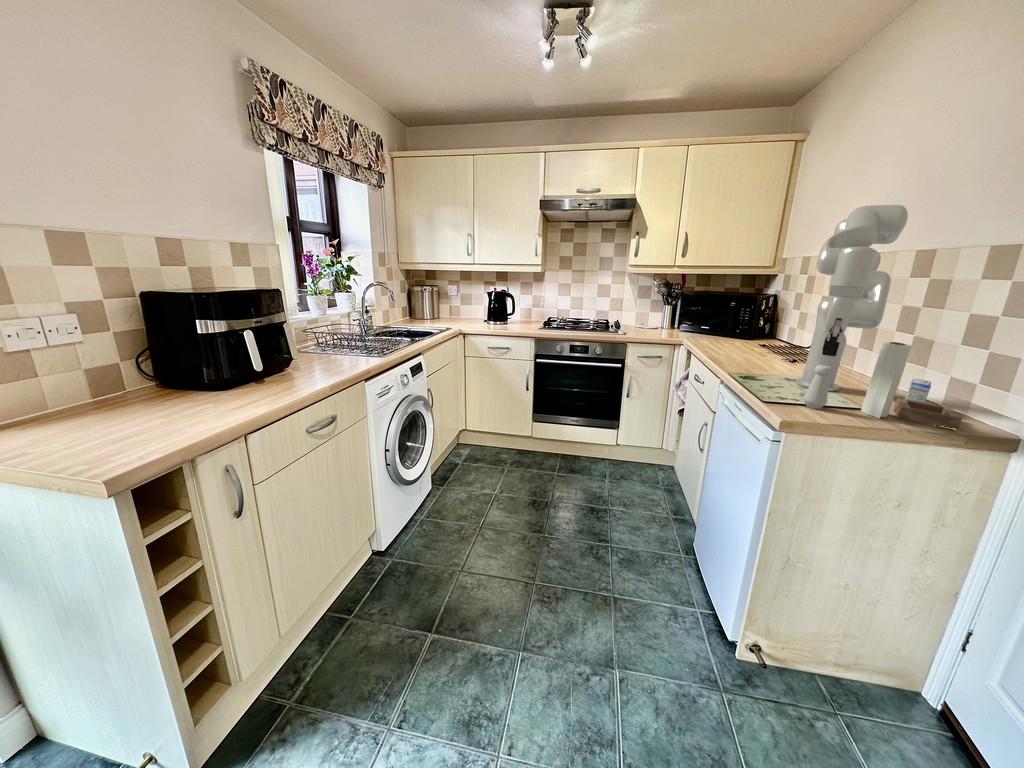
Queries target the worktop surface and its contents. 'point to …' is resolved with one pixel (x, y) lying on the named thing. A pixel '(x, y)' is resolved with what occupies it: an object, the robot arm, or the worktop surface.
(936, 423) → the holder
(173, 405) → the worktop surface
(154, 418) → the worktop surface
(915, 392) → the medicine box
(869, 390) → the paper towel roll
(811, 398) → the salt shaker
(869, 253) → the robot arm
